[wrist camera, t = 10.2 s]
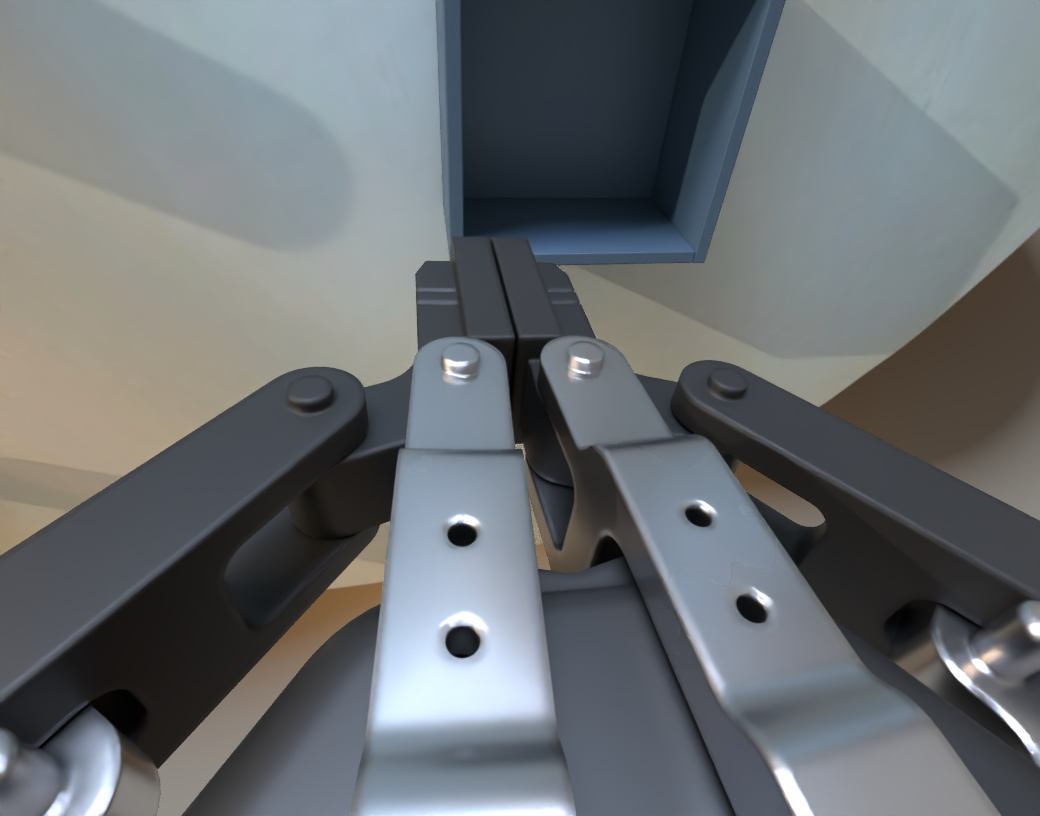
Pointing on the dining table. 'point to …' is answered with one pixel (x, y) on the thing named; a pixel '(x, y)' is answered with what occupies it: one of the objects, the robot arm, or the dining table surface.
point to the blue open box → (596, 121)
